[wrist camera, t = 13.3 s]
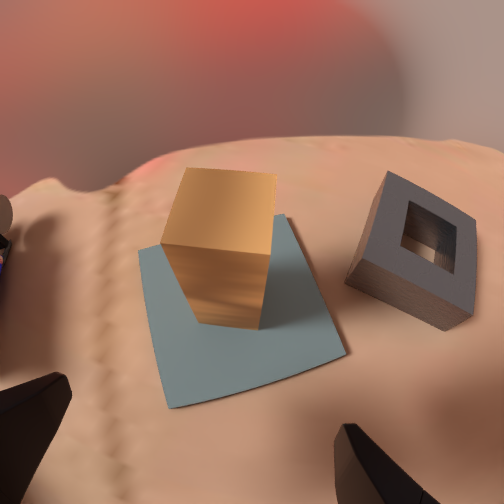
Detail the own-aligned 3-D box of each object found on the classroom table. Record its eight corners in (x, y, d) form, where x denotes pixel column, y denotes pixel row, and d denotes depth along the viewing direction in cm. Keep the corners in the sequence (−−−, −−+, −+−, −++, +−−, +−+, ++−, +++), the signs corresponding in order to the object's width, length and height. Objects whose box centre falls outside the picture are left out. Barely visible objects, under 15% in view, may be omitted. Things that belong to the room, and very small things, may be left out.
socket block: (455, 242, 21) (475, 220, 18) (444, 331, 17) (473, 315, 14) (373, 198, 23) (387, 170, 20) (344, 282, 19) (361, 257, 16)
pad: (343, 355, 16) (346, 354, 16) (170, 408, 14) (168, 408, 14) (283, 217, 22) (284, 213, 21) (140, 253, 20) (138, 250, 19)
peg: (263, 276, 19) (276, 174, 11) (258, 330, 17) (270, 254, 9) (208, 270, 19) (186, 167, 11) (198, 323, 17) (160, 243, 9)
